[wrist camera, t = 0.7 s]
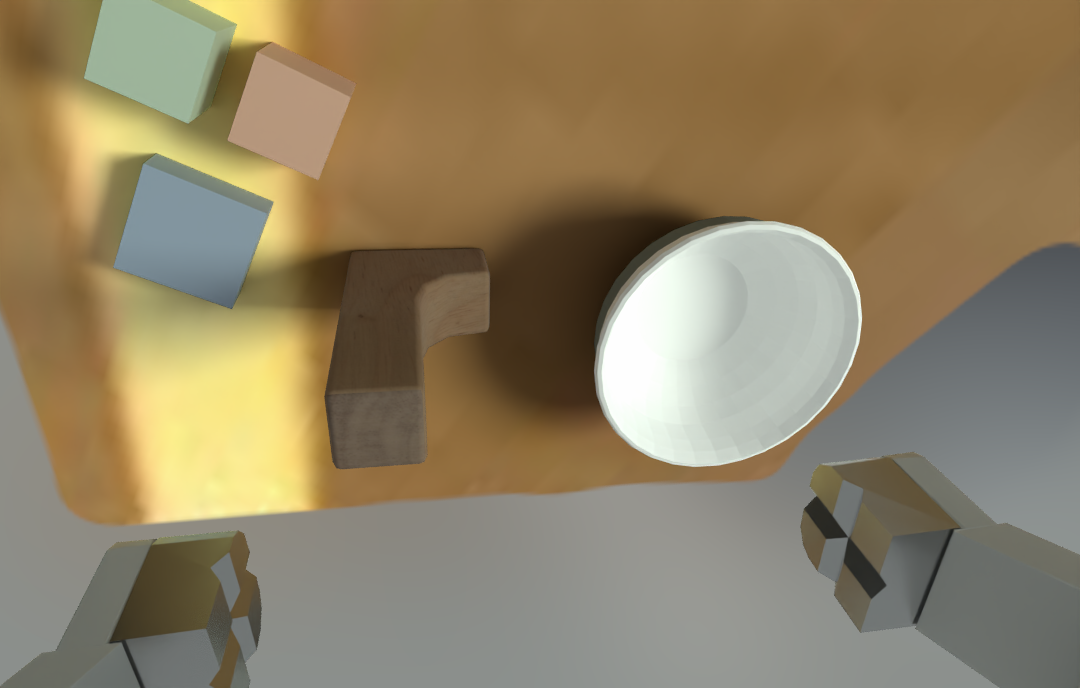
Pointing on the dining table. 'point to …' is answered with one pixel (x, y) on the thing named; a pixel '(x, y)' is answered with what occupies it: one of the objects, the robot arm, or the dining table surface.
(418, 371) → the wooden block
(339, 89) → the pinkish brown cube
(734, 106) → the dining table surface
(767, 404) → the bowl
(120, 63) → the sage green cube
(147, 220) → the slate blue block
